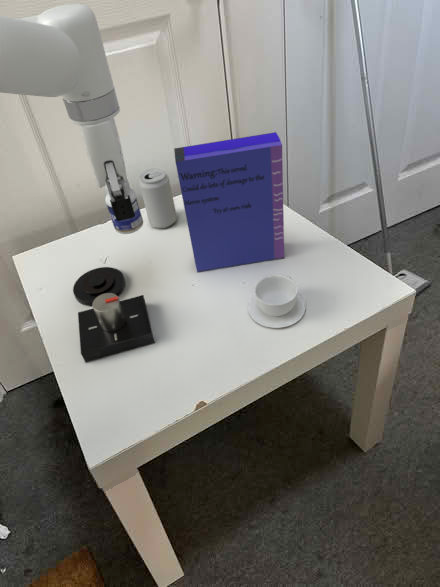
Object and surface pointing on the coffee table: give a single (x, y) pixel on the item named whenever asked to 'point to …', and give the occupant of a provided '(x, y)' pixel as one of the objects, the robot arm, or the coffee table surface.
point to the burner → (98, 284)
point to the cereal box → (233, 200)
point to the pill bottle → (131, 223)
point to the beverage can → (158, 198)
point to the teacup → (276, 302)
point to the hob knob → (109, 312)
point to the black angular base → (110, 343)
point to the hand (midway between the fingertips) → (123, 208)
